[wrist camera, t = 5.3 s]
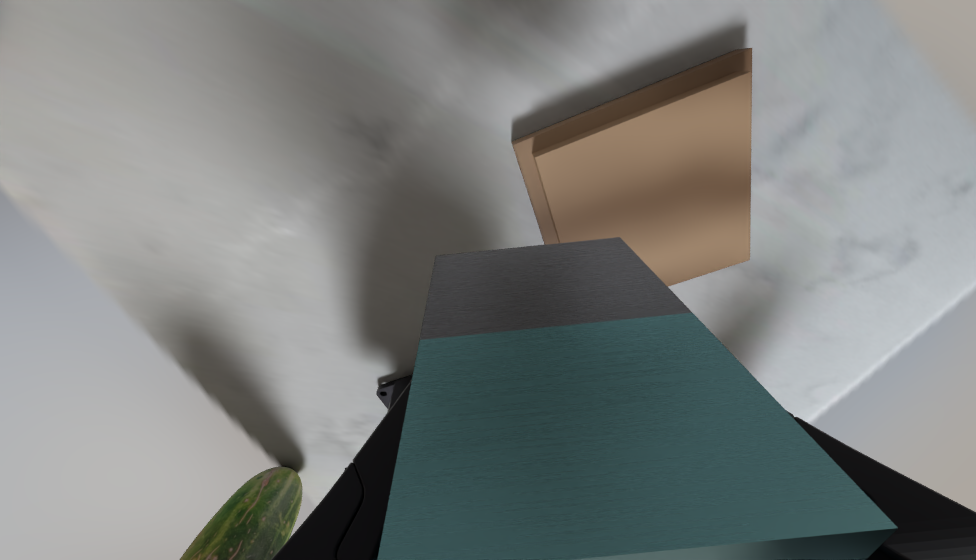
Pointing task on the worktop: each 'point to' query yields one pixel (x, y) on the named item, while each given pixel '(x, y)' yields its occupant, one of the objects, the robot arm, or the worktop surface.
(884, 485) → the robot arm
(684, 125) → the walnut stand
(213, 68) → the worktop surface
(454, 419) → the teal and grey block
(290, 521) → the vegetable
